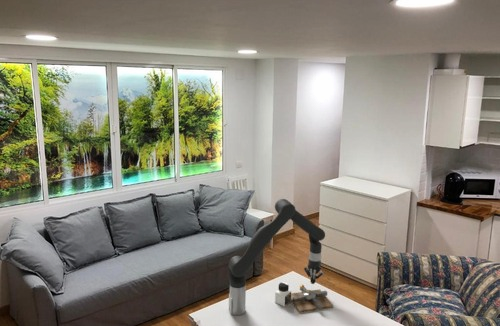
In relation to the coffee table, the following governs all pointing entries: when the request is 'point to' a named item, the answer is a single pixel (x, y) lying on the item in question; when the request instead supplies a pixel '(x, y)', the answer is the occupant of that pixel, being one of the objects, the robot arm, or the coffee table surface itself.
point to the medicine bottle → (283, 294)
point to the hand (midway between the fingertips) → (312, 283)
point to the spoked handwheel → (310, 296)
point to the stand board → (310, 303)
